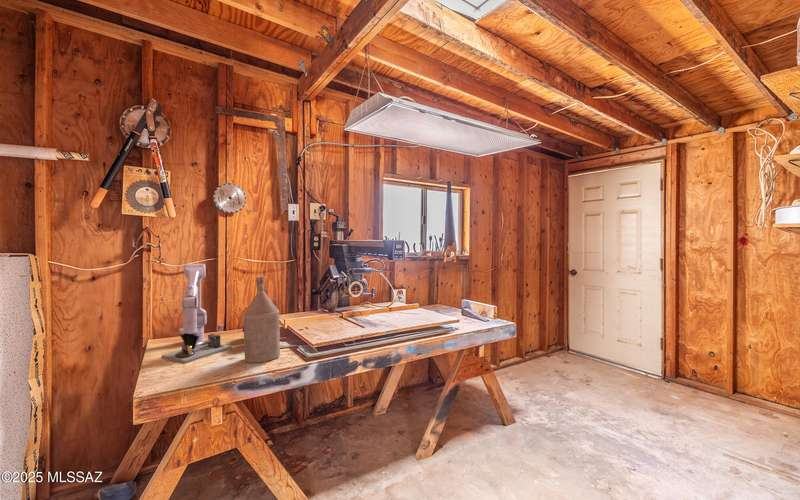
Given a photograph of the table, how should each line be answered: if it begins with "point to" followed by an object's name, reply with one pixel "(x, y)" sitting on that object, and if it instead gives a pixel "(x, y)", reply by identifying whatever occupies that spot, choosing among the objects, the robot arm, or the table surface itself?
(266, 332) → the grey brown bottle
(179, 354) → the handwheel
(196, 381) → the table surface
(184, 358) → the board
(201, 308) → the robot arm
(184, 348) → the headed rod
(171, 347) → the table surface
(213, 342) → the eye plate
